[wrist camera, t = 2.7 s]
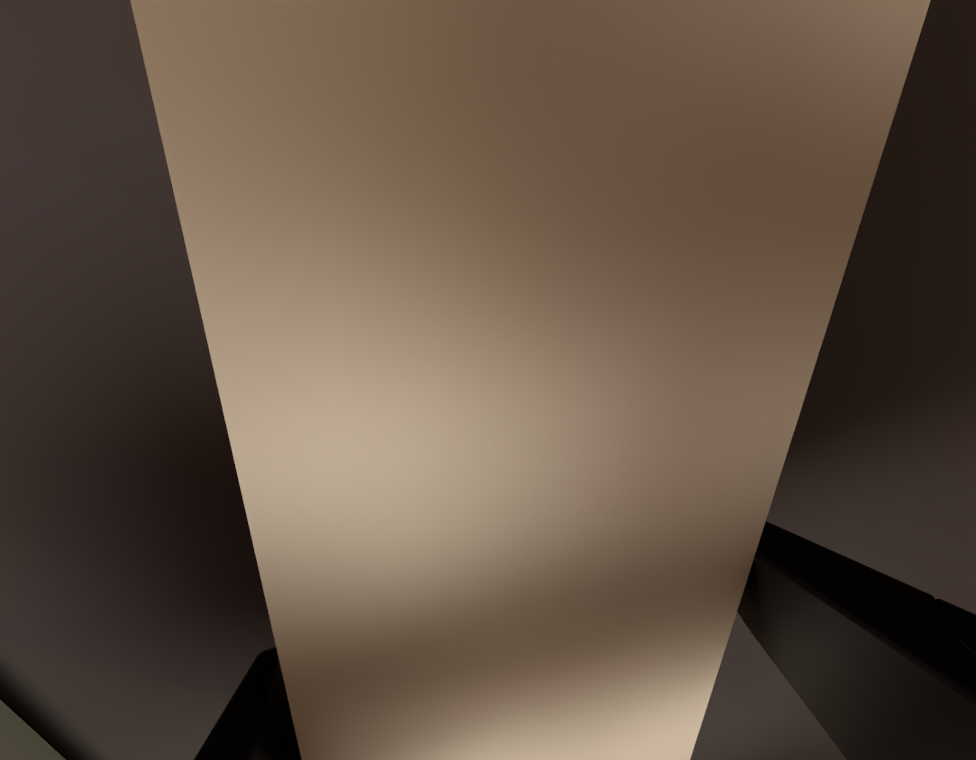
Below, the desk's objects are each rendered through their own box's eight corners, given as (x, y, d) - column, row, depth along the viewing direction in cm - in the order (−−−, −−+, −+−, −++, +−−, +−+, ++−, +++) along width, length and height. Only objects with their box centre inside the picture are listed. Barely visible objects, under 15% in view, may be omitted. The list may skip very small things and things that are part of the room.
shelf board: (598, 755, 15) (649, 885, 13) (351, 819, 14) (351, 981, 11) (737, 12, 8) (946, -49, 5) (207, -31, 6) (94, -155, 3)
